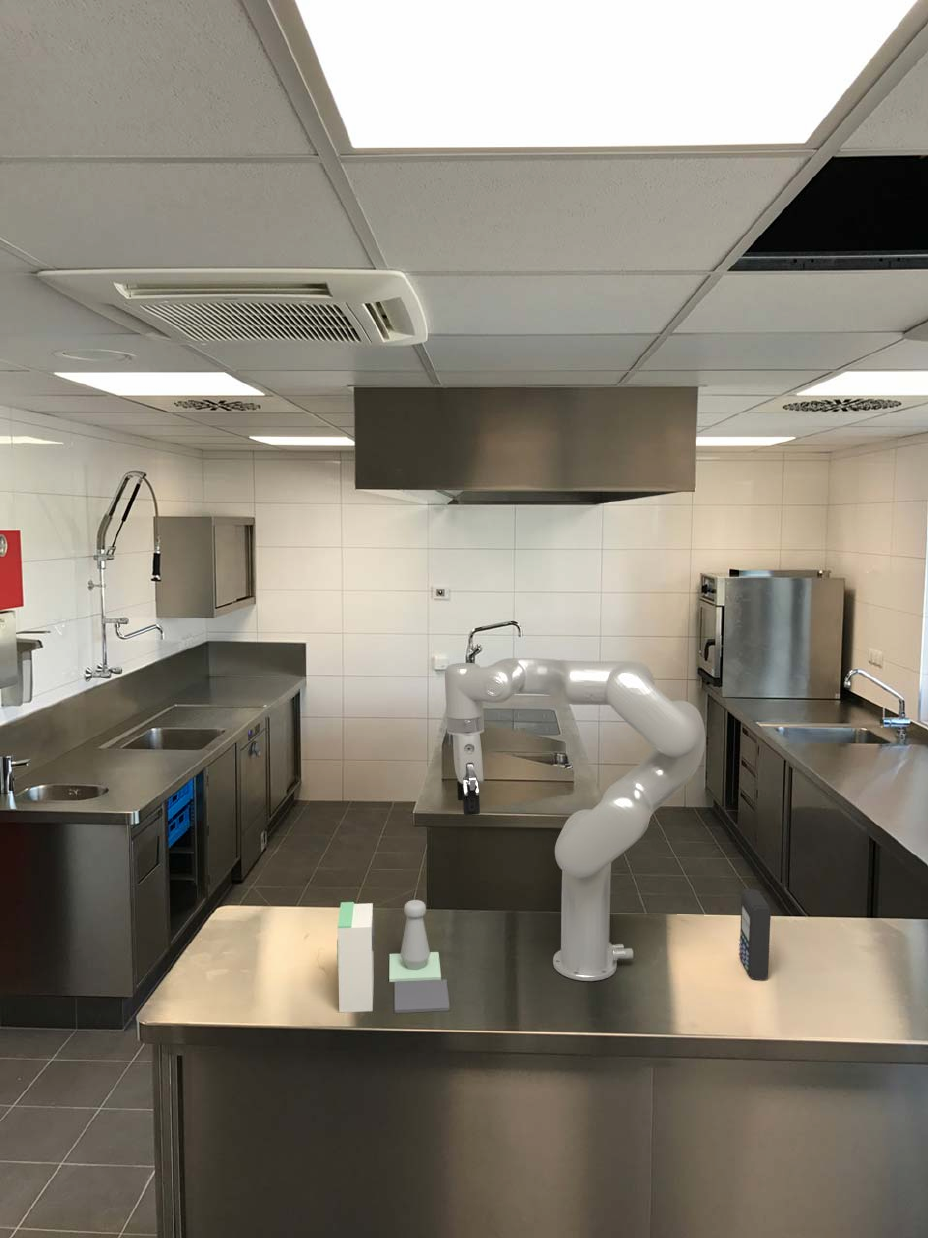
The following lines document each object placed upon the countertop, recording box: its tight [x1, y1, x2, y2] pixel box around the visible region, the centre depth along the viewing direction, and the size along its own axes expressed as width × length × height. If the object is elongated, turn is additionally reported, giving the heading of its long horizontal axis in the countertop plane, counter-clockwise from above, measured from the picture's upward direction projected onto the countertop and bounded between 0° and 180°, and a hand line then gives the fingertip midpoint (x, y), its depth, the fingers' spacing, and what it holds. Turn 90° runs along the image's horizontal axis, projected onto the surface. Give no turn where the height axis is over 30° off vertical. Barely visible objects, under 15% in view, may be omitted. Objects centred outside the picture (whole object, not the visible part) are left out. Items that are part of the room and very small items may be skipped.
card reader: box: [738, 888, 772, 981], centre depth 174 cm, size 9×4×15 cm, turn 177°
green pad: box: [388, 951, 442, 983], centre depth 176 cm, size 10×10×1 cm
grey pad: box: [394, 978, 450, 1014], centre depth 165 cm, size 10×10×1 cm
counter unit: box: [336, 901, 375, 1014], centre depth 164 cm, size 7×10×16 cm, turn 5°
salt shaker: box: [400, 899, 430, 970], centre depth 175 cm, size 6×6×13 cm
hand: (468, 806), depth 180 cm, fingers open, 9 cm apart
